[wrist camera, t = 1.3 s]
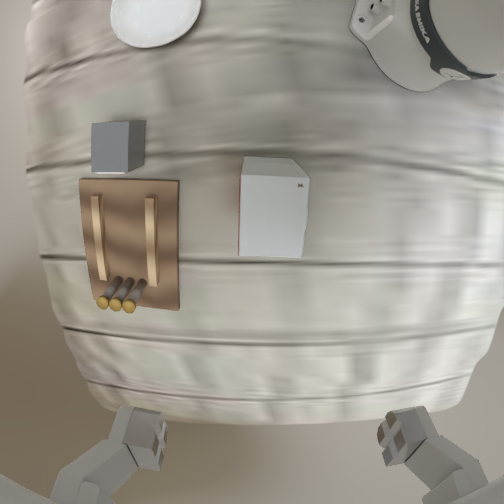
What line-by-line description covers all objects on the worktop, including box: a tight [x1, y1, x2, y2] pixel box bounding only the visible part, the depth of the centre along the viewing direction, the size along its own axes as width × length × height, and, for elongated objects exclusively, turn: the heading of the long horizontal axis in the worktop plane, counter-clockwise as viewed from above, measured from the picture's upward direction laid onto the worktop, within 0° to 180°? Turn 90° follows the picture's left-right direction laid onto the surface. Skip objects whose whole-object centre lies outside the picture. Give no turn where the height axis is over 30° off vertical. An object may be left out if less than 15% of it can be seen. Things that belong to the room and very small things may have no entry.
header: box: [79, 178, 180, 313], centre depth 39 cm, size 20×15×8 cm
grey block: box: [91, 120, 146, 174], centre depth 34 cm, size 6×5×6 cm
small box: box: [238, 156, 310, 259], centre depth 33 cm, size 8×6×13 cm
